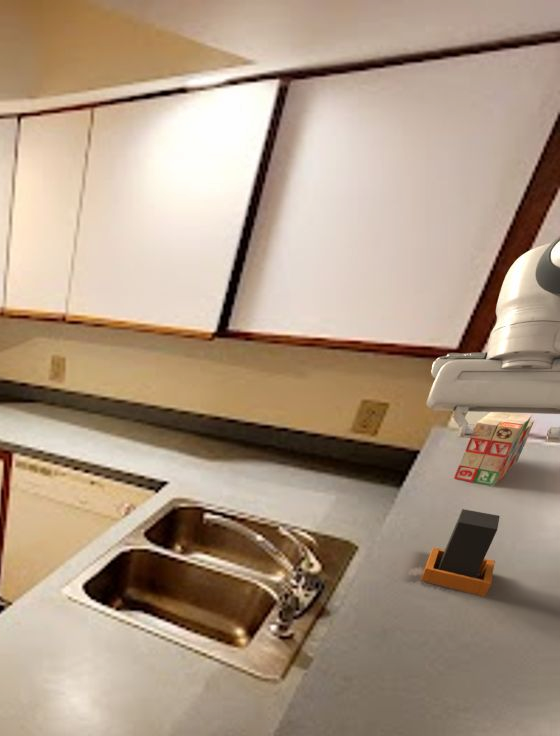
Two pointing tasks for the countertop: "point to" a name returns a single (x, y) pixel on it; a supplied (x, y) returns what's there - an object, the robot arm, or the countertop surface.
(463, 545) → the black rectangular block
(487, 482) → the stack of blocks
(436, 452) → the countertop surface
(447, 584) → the orange rectangular frame
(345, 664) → the countertop surface
